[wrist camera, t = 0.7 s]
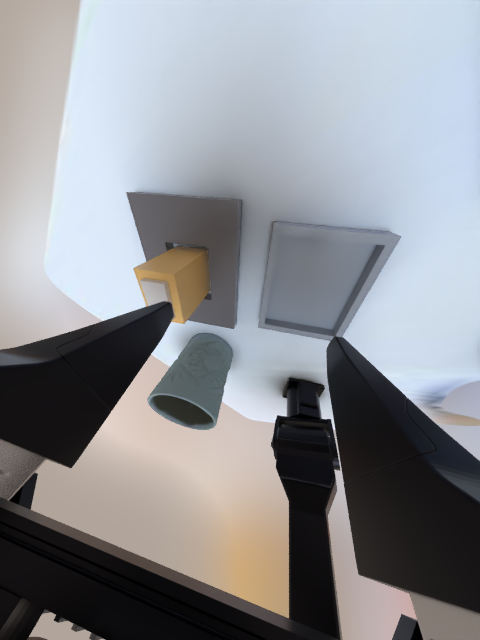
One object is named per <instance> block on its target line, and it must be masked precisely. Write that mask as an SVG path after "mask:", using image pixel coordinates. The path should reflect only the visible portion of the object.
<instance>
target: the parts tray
mask: <svg viewBox="0 0 480 640" xmlns="http://www.w3.org/2000/svg"><path fill="white" fill-rule="evenodd" d="M400 238H401V236H399V235H397V234H394V233H392V232H385V231H374V230H363V229H352V228H341V227H330V226H319V225H308V224H297V223H286V222H275V223H274V226H273V232H272V239H271V245H270V252H269V259H268V265H267V272H266V278H265V285H264V291H263V298H262V304H261V311H260V317H259V324H258V328H264V329H269V330H275V331H280V332H286V333H291V334H296V335H302V336H307V337H313V338H318V339H324V340H329V341H331V340H332V339H333V337H335V336H337V337H342V336H343V335H344V333H345V331H346V330H347V328H348V326H349V324H350V323H351V321H352V319H353V318H354V316H355V314H356V313H357V311H358V309H359V307H360V306H361V304H362V302H363V301H364V299H365V297H366V296H367V294H368V292H369V291H370V289H371V287H372V285H373V284H374V282H375V280H376V279H377V277H378V275H379V274H380V272H381V270H382V268H383V267H384V265H385V263H386V262H387V260H388V258H389V257H390V255H391V253H392V251H393V250H394V248H395V246H396V245H397V243H398V241H399V240H400Z"/></svg>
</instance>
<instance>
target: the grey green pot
mask: <svg viewBox="0 0 480 640" xmlns="http://www.w3.org/2000/svg"><path fill="white" fill-rule="evenodd" d="M232 356H233V353H232V349H231V348H230V346H229V345H228V344H227V342H225V341H224V340H223V339H222V338H220V337H218V336H216V335H213V334H209V333H202V334H198V335H196V336H194V337H193V338H192V339H191V340H190V342H189V343H188V345H187V346H186V347H185V348H184V350H183V351H182V352H181V354H180V355H179V357H178V359H177V360H176V361H175V362H174V363H173V364H172V366H171V367H170V368H169V370H168V371H167V372H166V374H165V375H164V377H163V378H162V379H161V381H160V382H159V383H158V385H157V386H156V388H155V389H154V390H153V391H152V393H151V394H150V396H149V397H148V404H149V405H150V406H151V408H152V409H153V410H154V411H156V412H157V413H158V414H160V415H161V416H163V417H164V418H166V419H168V420H170V421H172V422H175V423H177V424H180V425H182V426H185V427H188V428H192V429H198V430H208V429H211V428H214V427H215V425H216V423H217V418H218V414H219V409H220V405H221V401H222V396H223V393H224V385H225V383H226V377H227V373H228V371H229V369H230V365H231V361H232Z"/></svg>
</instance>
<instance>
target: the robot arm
mask: <svg viewBox="0 0 480 640" xmlns="http://www.w3.org/2000/svg"><path fill="white" fill-rule="evenodd" d="M173 317H174V312H173V307H172V304H171V303H170V302H167V301H162V302H159V303H156V304H153V305H150V306H147V307H144V308H141V309H138V310H135V311H132V312H129V313H126V314H123V315H120V316H117V317H114V318H111V319H108V320H105V321H102V322H99V323H97V324H93V325H90V326H87V327H84V328H81V329H78V330H75V331H72V332H68V333H65V334H61V335H58V336H55V337H51V338H48V339H44V340H41V341H37V342H33V343H30V344H26V345H23V346H19V347H15V348H10V349H2V350H0V640H47V639H44V638H41V637H29V635H30V633H31V632H32V630H33V628H34V627H35V625H36V623H37V622H38V620H39V618H40V616H41V615H42V614H43V613H49V612H52V613H54V614H56V617H55V619H54V621H56V622H63V621H70V622H72V623H74V624H73V626H72V628H71V629H72V630H74V631H76V632H77V631H80V630H84V629H86V630H87V631H90V632H91V634H90V639H91V640H99V639H102V638H103V639H105V640H342V633H341V625H340V617H339V608H338V600H337V591H336V583H335V575H334V567H333V558H332V550H331V541H330V534H329V524H328V513H329V511H330V508H331V506H332V503H333V500H334V497H335V495H336V492H337V485H336V479H335V471H334V469H335V470H340V465H339V460H338V453H337V448H336V443H335V438H334V433H333V428H332V423H331V419H327V420H326V419H322V417H321V410H320V403H319V397H320V395H321V394H322V392H323V391H324V389H325V387H324V386H323V385H320V384H315V383H311V382H306V381H302V380H297V379H293V378H290V379H289V380H288V382H287V385H286V387H285V389H284V392H283V397H284V398H287V417H284V416H278V415H277V419H276V422H275V428H274V435H273V439H272V442H271V447H272V448H273V450H274V456H275V459H276V460H277V461H276V468H277V472H278V474H279V477H280V479H281V482H282V484H283V487H284V490H285V492H286V495H287V497H288V500H289V618H286V617H284V616H281V615H279V614H277V613H274V612H272V611H270V610H267V609H265V608H262V607H260V606H258V605H255V604H253V603H250V602H248V601H246V600H243V599H241V598H239V597H236V596H234V595H232V594H229V593H227V592H224V591H222V590H220V589H217V588H215V587H213V586H210V585H208V584H205V583H203V582H201V581H198V580H196V579H193V578H191V577H189V576H186V575H184V574H182V573H179V572H177V571H175V570H172V569H170V568H167V567H165V566H163V565H160V564H158V563H156V562H153V561H151V560H148V559H146V558H144V557H141V556H139V555H137V554H134V553H132V552H129V551H127V550H124V549H122V548H119V547H117V546H115V545H113V544H110V543H108V542H106V541H103V540H101V539H99V538H96V537H94V536H91V535H89V534H87V533H84V532H82V531H79V530H77V529H75V528H72V527H70V526H68V525H65V524H63V523H61V522H58V521H56V520H53V519H51V518H49V517H46V516H44V515H41V514H39V513H37V512H34V511H32V510H31V505H32V500H33V495H34V490H35V485H36V480H37V475H38V474H37V473H34V472H35V471H36V470H37V469H38V468H39V467H40V466H41V465H42V463H43V462H44V461H45V460H46V459H47V460H50V461H52V462H55V463H58V464H61V465H63V466H66V467H69V468H72V467H73V465H74V464H75V463H76V461H77V460H78V459H79V457H80V456H81V454H82V453H83V451H84V450H85V449H86V447H87V446H88V444H89V443H90V441H91V440H92V439H93V437H94V435H95V434H96V433H97V431H98V430H99V428H100V427H101V426H102V424H103V423H104V421H105V420H106V418H107V417H108V416H109V414H110V413H111V411H112V410H113V408H114V407H115V405H116V404H117V402H118V401H119V399H120V398H121V396H122V395H123V394H124V392H125V391H126V389H127V388H128V387H129V385H130V384H131V382H132V381H133V379H134V378H135V376H136V375H137V374H138V372H139V371H140V369H141V368H142V366H143V365H144V364H145V362H146V361H147V359H148V358H149V356H150V355H151V353H152V352H153V351H154V349H155V348H156V346H157V345H158V343H159V342H160V340H161V339H162V337H163V336H164V334H165V332H166V330H167V328H168V326H169V324H170V323H171V321H172V319H173ZM327 378H328V385H329V391H330V398H331V404H332V410H333V417H334V423H335V430H336V436H337V442H338V449H339V455H340V461H341V467H342V474H343V480H344V487H345V494H346V500H347V507H348V513H349V519H350V525H351V532H352V538H353V544H354V551H355V558H356V563H357V569H358V574H359V575H361V576H364V577H366V578H369V579H372V580H375V581H377V582H380V583H382V584H385V585H388V586H391V587H393V588H396V589H399V590H402V591H404V592H407V593H409V594H410V597H411V600H412V603H413V607H414V610H415V614H416V617H417V620H416V619H413V618H410V617H408V616H405V615H403V614H401V617H400V620H399V622H398V625H397V628H396V630H395V633H394V636H393V638H392V640H480V461H479V460H478V459H476V458H475V457H474V456H473V455H472V454H470V453H469V452H468V451H467V450H466V449H465V448H463V447H462V446H461V445H460V444H459V443H458V442H457V441H455V440H454V439H453V438H452V437H450V436H449V435H448V434H447V433H446V432H445V431H443V429H441V428H440V427H439V426H438V425H437V424H436V423H434V422H433V421H432V420H431V419H430V418H429V417H428V416H427V415H426V414H424V413H423V412H422V411H421V410H420V409H419V408H418V407H417V406H416V405H415V404H414V403H413V402H412V401H410V400H409V399H408V398H407V397H406V396H405V395H404V394H403V393H402V392H401V391H400V390H399V389H398V388H397V387H395V386H394V385H393V384H392V383H391V382H390V381H389V380H388V379H387V378H386V377H385V376H384V375H383V374H382V373H381V372H379V371H378V370H377V369H376V368H375V367H374V366H373V365H372V364H371V363H370V362H369V361H368V360H367V359H366V358H365V357H363V356H362V355H361V354H360V353H359V352H358V351H357V350H356V349H355V348H354V347H353V346H352V345H351V344H350V343H349V342H347V341H346V340H345V339H344V338H342V337H337V336H335V337H333V339H332V340H331V342H330V344H329V345H328V347H327ZM329 436H330V437H329Z"/></svg>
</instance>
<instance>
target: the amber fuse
mask: <svg viewBox="0 0 480 640" xmlns="http://www.w3.org/2000/svg"><path fill="white" fill-rule="evenodd" d="M133 269H134V272H135V275H136V277H137V280H138V283H139V286H140V289H141V292H142V294H143V297H144V300H145V303H146V306H150V305H153V304H156V303H159V302H162V301H167V302H170V303H171V304H172V307H173V312H174V317H173V319H172V321H171V322H176V323H181V324H185V322H186V321H187V320H188V318H189V317H190V316H191V315H192V313H193V312H194V311H195V309H196V308H197V307H198V306H199V304H200V303H201V302H202V300H203V299H204V298H205V297H206V295H207V294H208V293H209V291H210V290H211V287H210V272H209V257H208V249H201V248H193V247H185V246H177V247H175V248H173V249H171V250H169V251H167V252H165V253H163V254H161V255H159V256H157V257H155V258H153V259H151V260H149V261H147V262H145V263H143V264H141V265H139V266H137V267H135V268H133Z"/></svg>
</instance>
